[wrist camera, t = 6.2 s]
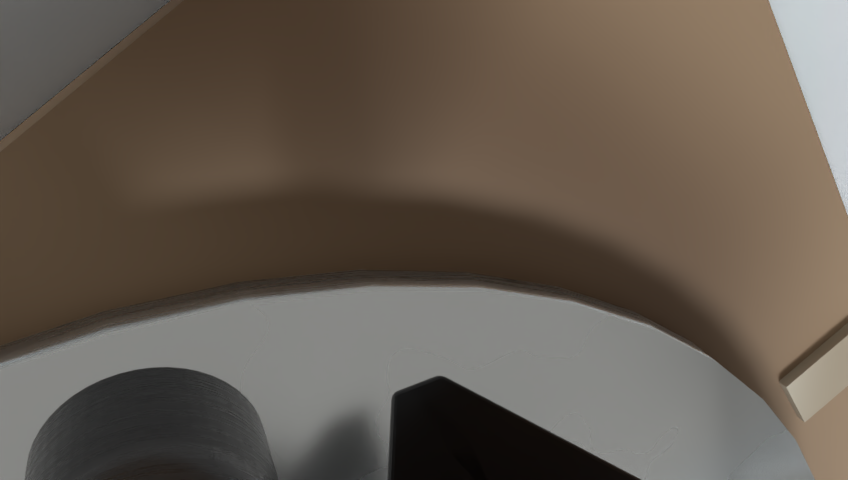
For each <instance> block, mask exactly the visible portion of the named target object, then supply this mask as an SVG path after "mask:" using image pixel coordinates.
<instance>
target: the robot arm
mask: <svg viewBox="0 0 848 480" xmlns="http://www.w3.org/2000/svg"><path fill="white" fill-rule="evenodd" d="M387 480H641V479H639V478H637V477H635V476H634V475H632V474H630V473H628V472H626V471H624V470H622V469H620V468H618V467H616V466H614V465H613V464H611V463H609V462H607V461H605V460H603V459H601V458H599V457H597V456H595V455H594V454H592V453H590V452H588V451H586V450H584V449H582V448H580V447H578V446H576V445H575V444H573V443H571V442H569V441H567V440H565V439H563V438H561V437H559V436H557V435H555V434H554V433H552V432H550V431H548V430H546V429H544V428H542V427H540V426H538V425H536V424H535V423H533V422H531V421H529V420H527V419H525V418H523V417H521V416H519V415H517V414H515V413H514V412H512V411H510V410H508V409H506V408H504V407H502V406H500V405H498V404H496V403H495V402H493V401H491V400H489V399H487V398H485V397H483V396H481V395H479V394H477V393H475V392H474V391H472V390H470V389H468V388H466V387H464V386H462V385H460V384H458V383H456V382H455V381H453V380H451V379H449V378H447V377H445V376H434V377H432V378H429V379H427V380H424V381H421V382H419V383H416V384H414V385H411V386H408V387H406V388H403V389H401V390H398V391H396V392H395V393H394V394H393V395H392V399H391V414H390V434H389V455H388V475H387Z"/></svg>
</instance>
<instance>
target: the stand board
mask: <svg viewBox="0 0 848 480" xmlns="http://www.w3.org/2000/svg"><path fill="white" fill-rule="evenodd" d="M351 270H399V271H444V272H470V273H476V274H482V275H488V276H495V277H501V278H507V279H513V280H520V281H526V282H532V283H539V284H545V285H551V286H557V287H560V288H563V289H567V290H570V291H573V292H576V293H579V294H582V295H585V296H588V297H591V298H595V299H598V300H601V301H604V302H607V303H610V304H613V305H616V306H619V307H622V308H626V309H629V310H632V311H634V312H636V313H638V314H640V315H641V316H643V317H645V318H647V319H649V320H651V321H653V322H655V323H657V324H658V325H660V326H662V327H664V328H666V329H668V330H670V331H672V332H674V333H675V334H677V335H679V336H681V337H683V338H685V339H687V340H689V341H691V342H692V343H694V344H695V345H696V346H697V347H699V348H700V349H701V350H702V351H704V352H705V353H706V354H708V355H709V356H710V357H711V358H713V359H714V360H715V361H716V362H718V363H719V364H720V365H721V366H723V367H724V368H725V369H726V370H728V371H729V372H730V373H731V374H733V375H734V376H735V377H736V378H737V379H739V380H740V381H741V382H742V383H744V384H745V385H746V386H747V387H749V388H750V389H751V390H752V391H754V392H755V393H756V394H757V395H758V396H760V397H761V398H762V399H763V400H764V401H765V402H766V403H767V405H768V406H769V407H770V408H771V410H772V411H773V412H774V413H775V415H776V416H777V417H778V418H779V420H780V421H781V422H782V423H783V425H784V426H785V427H786V428H787V430H788V431H789V432H790V434H791V435H792V436H793V437H794V439H795V440H796V441H797V444H798V446H799V448H800V450H801V452H802V454H803V456H804V458H805V460H806V462H807V464H808V466H809V468H810V470H811V472H812V474H813V476H814V478H815V480H848V215H847V213H846V210H845V207H844V204H843V202H842V199H841V196H840V194H839V191H838V188H837V185H836V183H835V180H834V177H833V175H832V172H831V169H830V166H829V164H828V161H827V158H826V156H825V153H824V150H823V147H822V145H821V142H820V139H819V137H818V134H817V131H816V128H815V126H814V123H813V120H812V118H811V115H810V112H809V109H808V107H807V104H806V101H805V99H804V96H803V93H802V90H801V88H800V85H799V82H798V80H797V77H796V74H795V71H794V69H793V66H792V63H791V61H790V58H789V55H788V52H787V50H786V47H785V44H784V42H783V39H782V36H781V33H780V31H779V28H778V25H777V23H776V20H775V17H774V14H773V12H772V9H771V6H770V4H769V1H768V0H170V1H169V2H168V3H167V4H166V5H164V6H163V7H162V8H161V9H160V10H158V11H157V12H156V13H155V14H153V15H152V16H151V17H150V18H149V19H147V20H146V21H145V22H144V23H143V24H141V25H140V26H139V27H138V28H137V29H135V30H134V31H133V32H132V33H130V34H129V35H128V36H127V37H126V38H124V39H123V40H122V41H121V42H120V43H118V44H117V45H116V46H115V47H114V48H112V49H111V50H110V51H109V52H107V53H106V54H105V55H104V56H103V57H101V58H100V59H99V60H98V61H97V62H95V63H94V64H93V65H92V66H91V67H89V68H88V69H87V70H86V71H84V72H83V73H82V74H81V75H80V76H78V77H77V78H76V79H75V80H74V81H72V82H71V83H70V84H69V85H67V86H66V87H65V88H64V89H63V90H61V91H60V92H59V93H58V94H57V95H55V96H54V97H53V98H52V99H51V100H49V101H48V102H47V103H46V104H44V105H43V106H42V107H41V108H40V109H38V110H37V111H36V112H35V113H34V114H32V115H31V116H30V117H29V118H28V119H26V120H25V121H24V122H23V123H21V124H20V125H19V126H18V127H17V128H15V129H14V130H13V131H12V132H11V133H9V134H8V135H7V136H6V137H5V138H3V139H2V140H1V141H0V346H1V345H4V344H7V343H10V342H13V341H16V340H19V339H22V338H25V337H28V336H31V335H34V334H37V333H40V332H43V331H46V330H49V329H52V328H55V327H58V326H61V325H64V324H67V323H70V322H73V321H76V320H79V319H82V318H85V317H88V316H91V315H94V314H97V313H100V312H103V311H106V310H111V309H116V308H120V307H125V306H129V305H134V304H139V303H143V302H148V301H152V300H157V299H162V298H166V297H171V296H175V295H180V294H185V293H189V292H194V291H198V290H203V289H208V288H212V287H217V286H221V285H226V284H231V283H235V282H242V281H252V280H262V279H272V278H281V277H291V276H301V275H311V274H321V273H331V272H341V271H351Z"/></svg>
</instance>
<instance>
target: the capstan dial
mask: <svg viewBox="0 0 848 480" xmlns="http://www.w3.org/2000/svg"><path fill="white" fill-rule="evenodd" d="M434 376H445V377H447V378H449V379H451V380H453V381H455V382H456V383H458V384H460V385H462V386H464V387H466V388H468V389H470V390H472V391H474V392H475V393H477V394H479V395H481V396H483V397H485V398H487V399H489V400H491V401H493V402H495V403H496V404H498V405H500V406H502V407H504V408H506V409H508V410H510V411H512V412H514V413H515V414H517V415H519V416H521V417H523V418H525V419H527V420H529V421H531V422H533V423H535V424H536V425H538V426H540V427H542V428H544V429H546V430H548V431H550V432H552V433H554V434H555V435H557V436H559V437H561V438H563V439H565V440H567V441H569V442H571V443H573V444H575V445H576V446H578V447H580V448H582V449H584V450H586V451H588V452H590V453H592V454H594V455H595V456H597V457H599V458H601V459H603V460H605V461H607V462H609V463H611V464H613V465H614V466H616V467H618V468H620V469H622V470H624V471H626V472H628V473H630V474H632V475H634V476H635V477H637V478H639V479H641V480H815V478H814V476H813V474H812V472H811V470H810V468H809V466H808V464H807V462H806V460H805V458H804V456H803V454H802V452H801V450H800V448H799V446H798V444H797V441H796V440H795V439H794V437H793V436H792V435H791V434H790V432H789V431H788V430H787V428H786V427H785V426H784V425H783V423H782V422H781V421H780V420H779V418H778V417H777V416H776V415H775V413H774V412H773V411H772V410H771V408H770V407H769V406H768V405H767V403H766V402H765V401H764V400H763V399H762V398H761V397H760V396H758V395H757V394H756V393H755V392H754V391H752V390H751V389H750V388H749V387H747V386H746V385H745V384H744V383H742V382H741V381H740V380H739V379H737V378H736V377H735V376H734V375H733V374H731V373H730V372H729V371H728V370H726V369H725V368H724V367H723V366H721V365H720V364H719V363H718V362H716V361H715V360H714V359H713V358H711V357H710V356H709V355H708V354H706V353H705V352H704V351H702V350H701V349H700V348H699V347H697V346H696V345H695V344H694V343H692V342H691V341H689V340H687V339H685V338H683V337H681V336H679V335H677V334H675V333H674V332H672V331H670V330H668V329H666V328H664V327H662V326H660V325H658V324H657V323H655V322H653V321H651V320H649V319H647V318H645V317H643V316H641V315H640V314H638V313H636V312H634V311H632V310H629V309H626V308H622V307H619V306H616V305H613V304H610V303H607V302H604V301H601V300H598V299H595V298H591V297H588V296H585V295H582V294H579V293H576V292H573V291H570V290H567V289H563V288H560V287H557V286H551V285H545V284H539V283H532V282H526V281H520V280H513V279H507V278H501V277H495V276H488V275H482V274H476V273H470V272H444V271H399V270H351V271H341V272H331V273H321V274H311V275H301V276H291V277H281V278H272V279H262V280H252V281H242V282H235V283H231V284H226V285H221V286H217V287H212V288H208V289H203V290H198V291H194V292H189V293H185V294H180V295H175V296H171V297H166V298H162V299H157V300H152V301H148V302H143V303H139V304H134V305H129V306H125V307H120V308H116V309H111V310H106V311H103V312H100V313H97V314H94V315H91V316H88V317H85V318H82V319H79V320H76V321H73V322H70V323H67V324H64V325H61V326H58V327H55V328H52V329H49V330H46V331H43V332H40V333H37V334H34V335H31V336H28V337H25V338H22V339H19V340H16V341H13V342H10V343H7V344H4V345H1V346H0V480H387V475H388V455H389V434H390V414H391V399H392V395H393V394H394V393H395V392H396V391H398V390H401V389H403V388H406V387H408V386H411V385H414V384H416V383H419V382H421V381H424V380H427V379H429V378H432V377H434Z"/></svg>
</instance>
